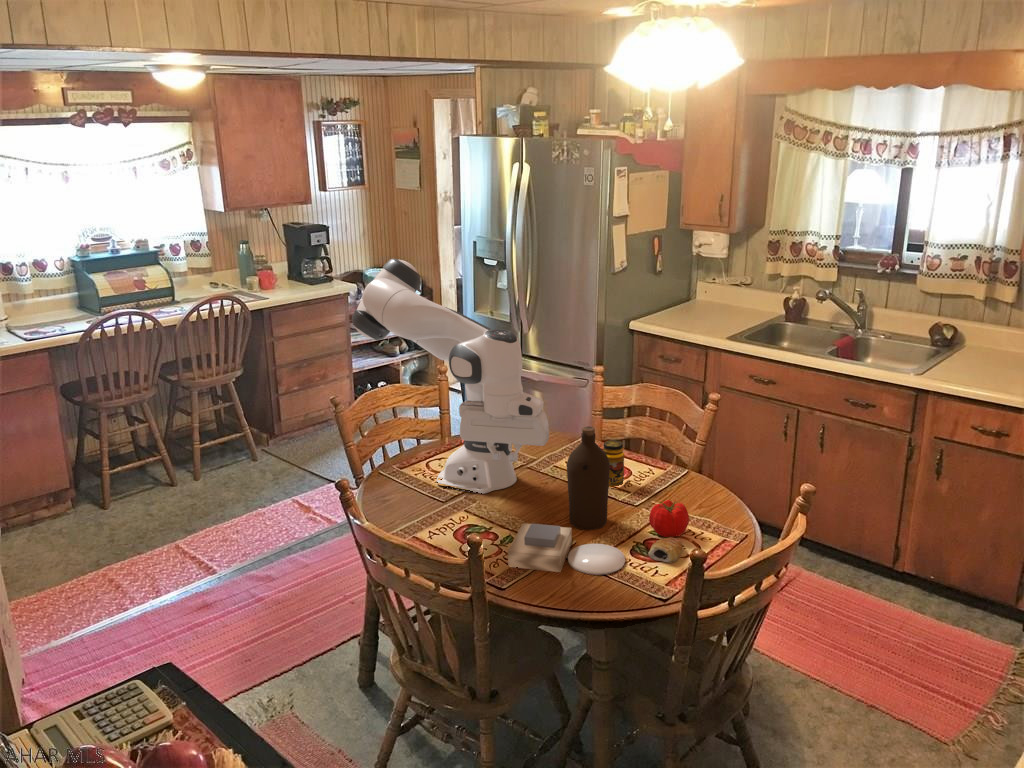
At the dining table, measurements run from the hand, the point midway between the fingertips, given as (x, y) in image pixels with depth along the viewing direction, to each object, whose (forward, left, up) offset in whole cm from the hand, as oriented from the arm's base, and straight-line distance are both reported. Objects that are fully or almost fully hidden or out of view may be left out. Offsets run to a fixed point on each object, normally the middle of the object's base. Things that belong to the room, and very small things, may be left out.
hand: (504, 460), depth 190 cm
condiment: (+18, +44, -23) cm, 53 cm away
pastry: (+36, +6, -24) cm, 44 cm away
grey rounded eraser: (+9, 0, -19) cm, 21 cm away
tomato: (+36, +17, -23) cm, 46 cm away
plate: (+21, 0, -23) cm, 31 cm away
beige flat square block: (+8, 0, -23) cm, 24 cm away
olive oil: (+16, +19, -23) cm, 34 cm away
